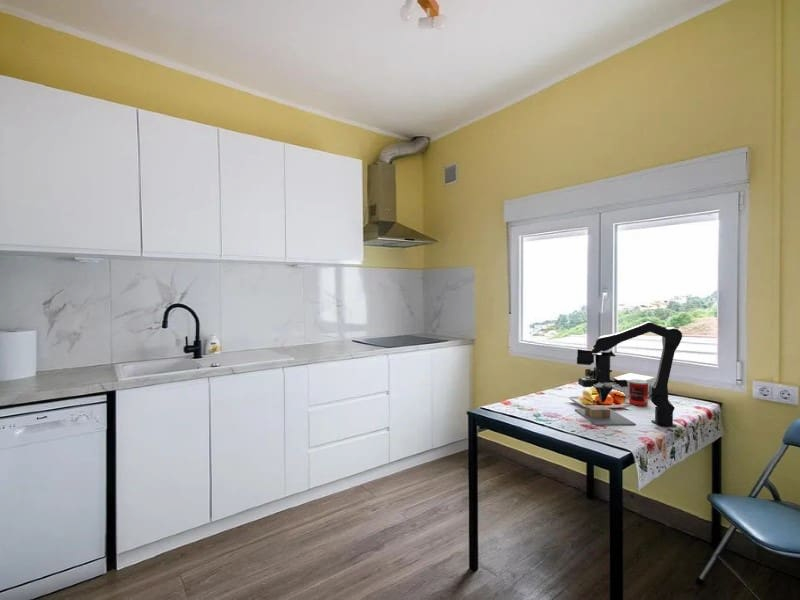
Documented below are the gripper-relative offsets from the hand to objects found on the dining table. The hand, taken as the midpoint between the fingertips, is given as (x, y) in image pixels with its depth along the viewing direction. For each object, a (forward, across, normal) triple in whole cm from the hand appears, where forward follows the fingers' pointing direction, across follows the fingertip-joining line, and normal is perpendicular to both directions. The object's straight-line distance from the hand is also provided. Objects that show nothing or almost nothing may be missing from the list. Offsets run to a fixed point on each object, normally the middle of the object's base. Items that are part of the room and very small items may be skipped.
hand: (602, 402), depth 174 cm
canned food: (+7, -26, -19) cm, 33 cm away
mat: (+6, 0, 0) cm, 7 cm away
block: (+4, -2, 0) cm, 4 cm away
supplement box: (+7, -34, -36) cm, 50 cm away
